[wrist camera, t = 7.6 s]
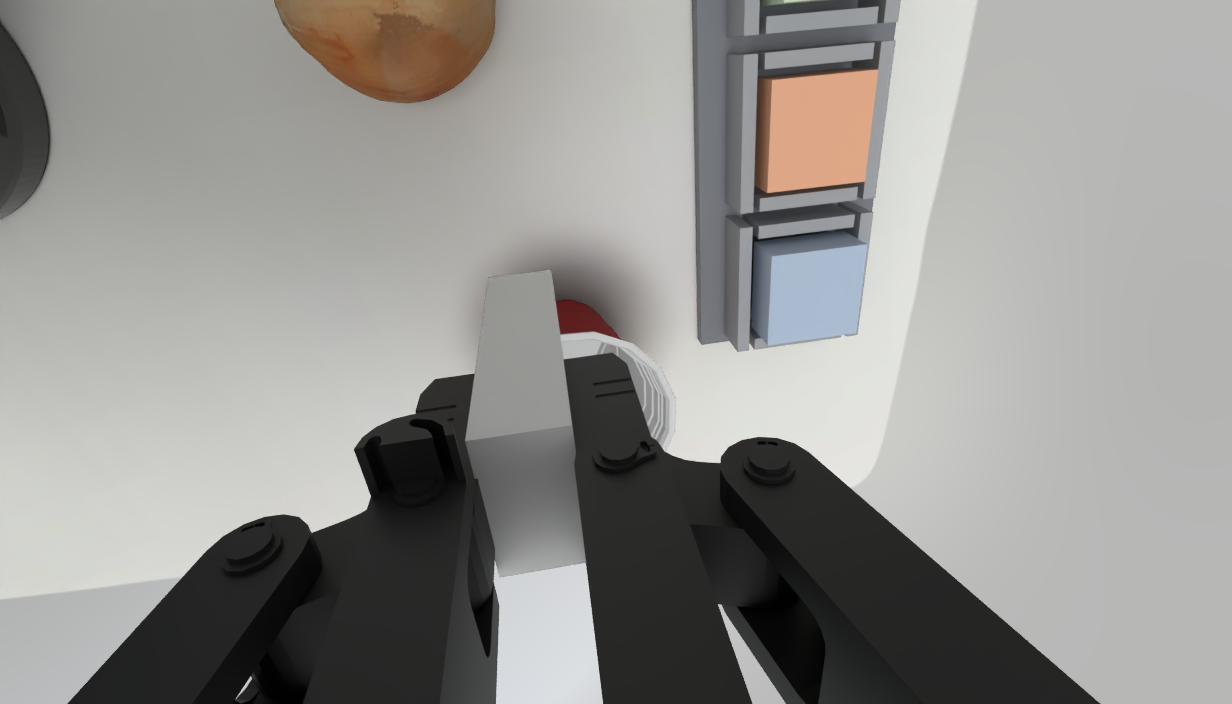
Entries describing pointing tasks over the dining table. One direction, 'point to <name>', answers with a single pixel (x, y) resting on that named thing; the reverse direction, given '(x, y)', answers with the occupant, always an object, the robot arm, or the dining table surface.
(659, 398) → the plastic cup
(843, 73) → the button terracotta
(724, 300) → the console
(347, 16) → the onion
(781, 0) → the button sage
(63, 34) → the dining table surface
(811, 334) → the button slate
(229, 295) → the dining table surface
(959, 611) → the robot arm
